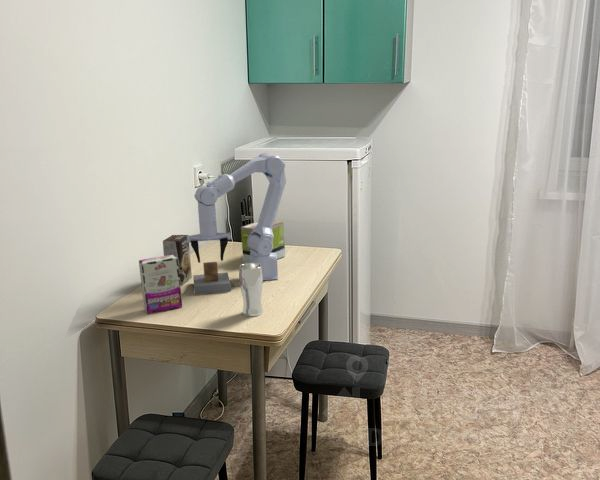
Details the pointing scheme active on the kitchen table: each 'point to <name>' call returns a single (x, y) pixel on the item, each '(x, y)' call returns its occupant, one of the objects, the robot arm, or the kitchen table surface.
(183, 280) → the coffee box
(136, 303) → the kitchen table surface
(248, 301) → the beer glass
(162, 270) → the candy bar box
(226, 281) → the slate base
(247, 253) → the tea box
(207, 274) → the walnut block
